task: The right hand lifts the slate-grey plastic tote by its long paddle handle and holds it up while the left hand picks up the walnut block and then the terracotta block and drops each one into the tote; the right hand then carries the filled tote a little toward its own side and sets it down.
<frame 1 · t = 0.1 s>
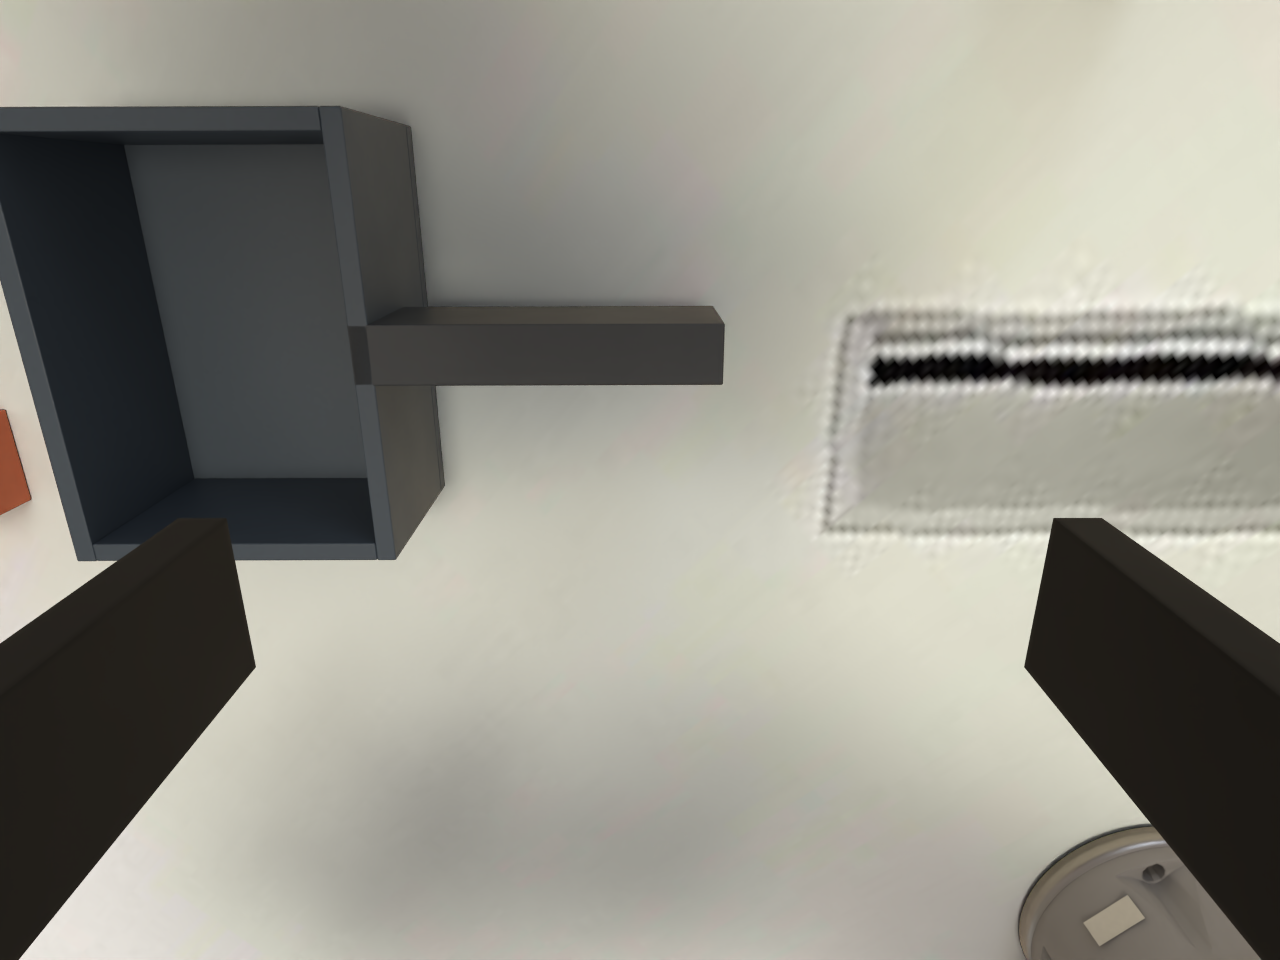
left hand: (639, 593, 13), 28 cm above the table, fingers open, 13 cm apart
tote: (292, 320, 39), on the table
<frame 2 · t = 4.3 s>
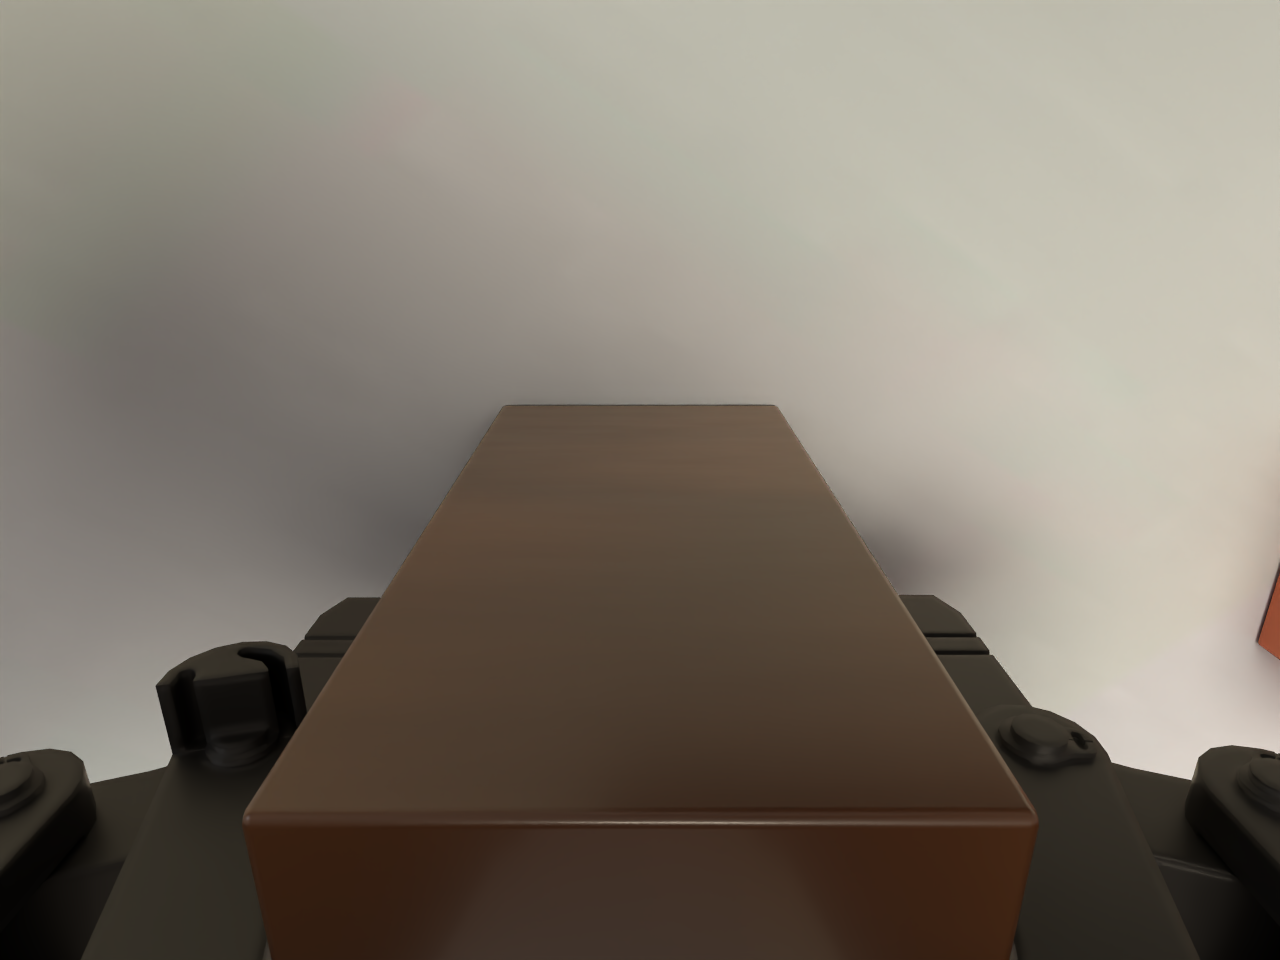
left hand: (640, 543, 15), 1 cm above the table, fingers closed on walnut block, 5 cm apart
walnut block: (640, 530, 15), on the table, touching left hand
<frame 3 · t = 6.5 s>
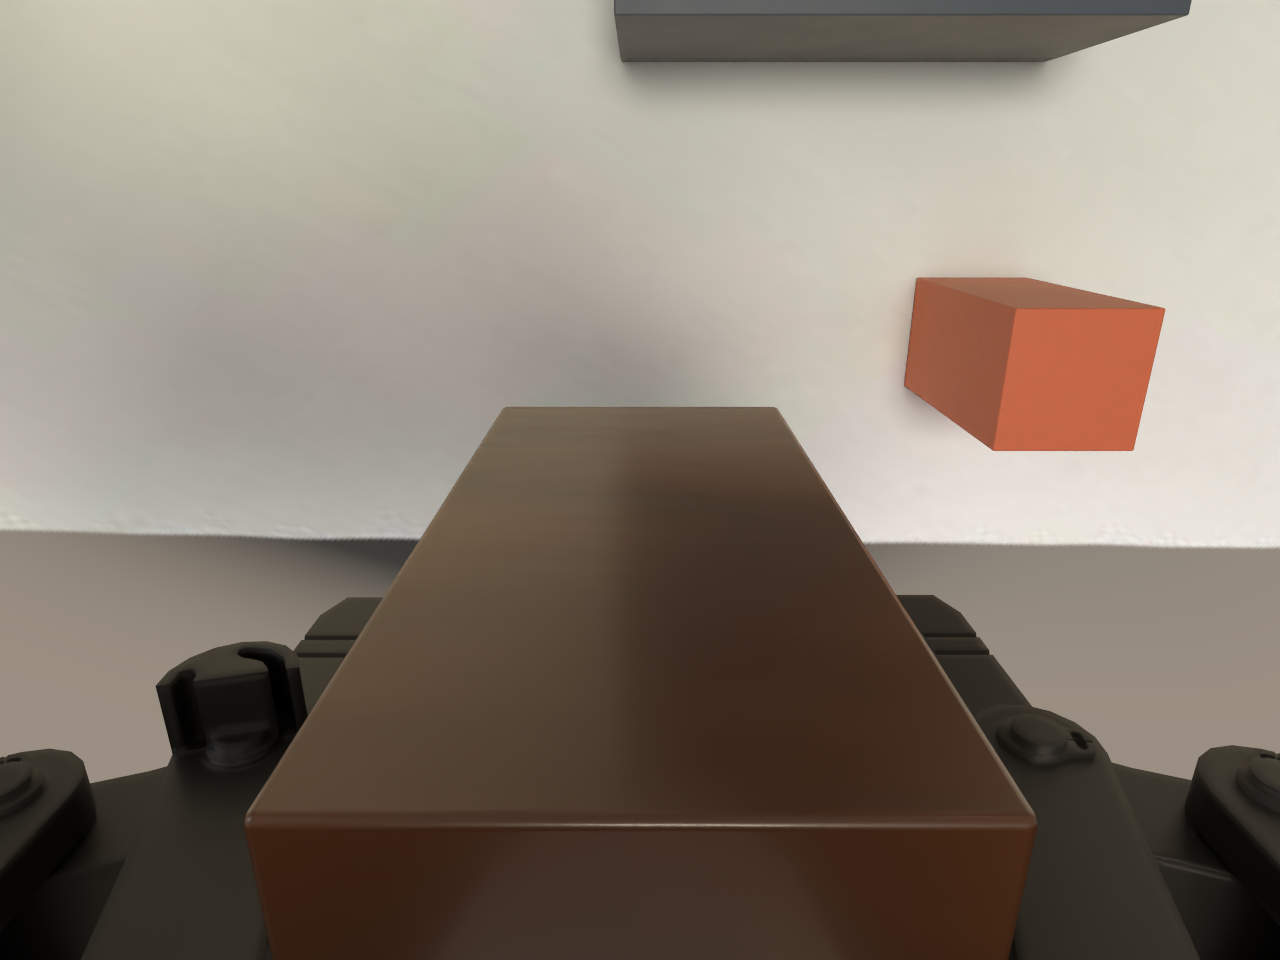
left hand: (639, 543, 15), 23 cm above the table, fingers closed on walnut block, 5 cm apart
terracotta block: (964, 333, 36), on the table
walnut block: (640, 532, 15), point 23 cm above the table, touching left hand
when the left hand's fingers open (23 cm above the table, at t = 10.8 s): walnut block drops 11 cm, resting on tote.
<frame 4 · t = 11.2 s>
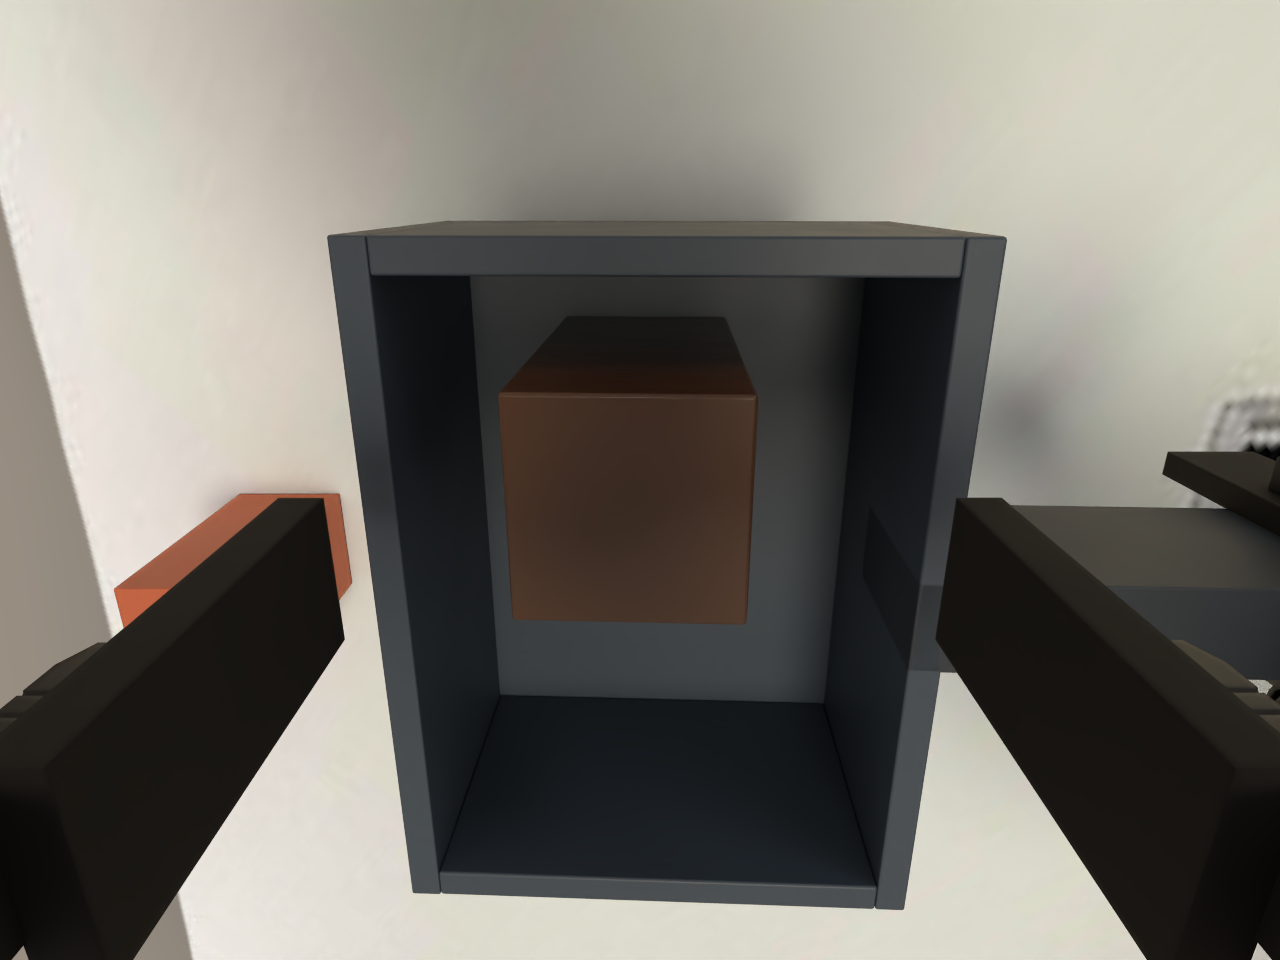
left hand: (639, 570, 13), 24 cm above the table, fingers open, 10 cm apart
tote: (663, 489, 27), point 11 cm above the table, touching right hand, walnut block
terracotta block: (297, 539, 40), on the table
walnut block: (645, 395, 25), point 12 cm above the table, touching tote
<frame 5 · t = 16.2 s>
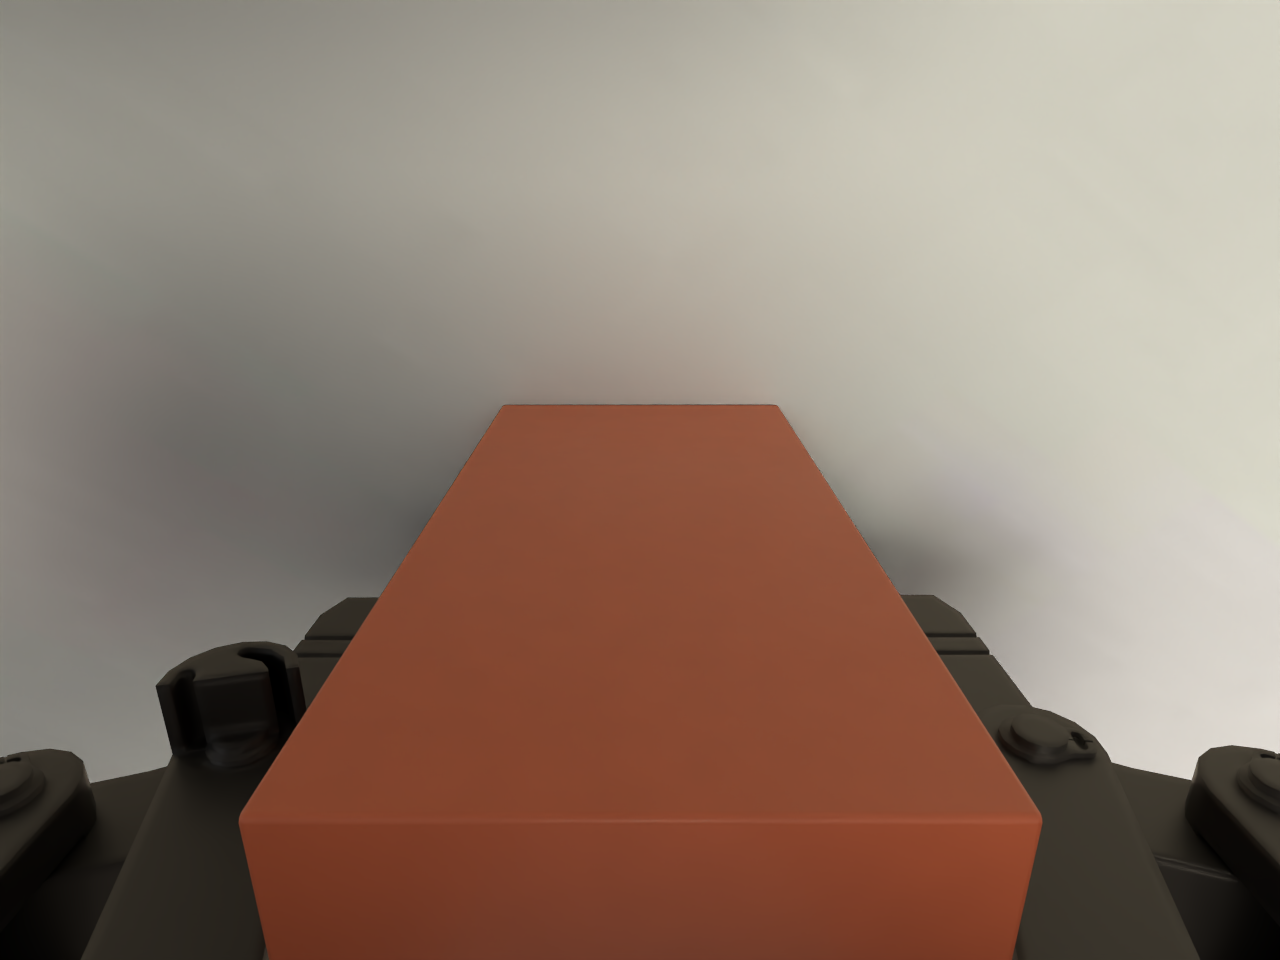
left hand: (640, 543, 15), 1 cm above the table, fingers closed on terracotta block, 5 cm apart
terracotta block: (640, 530, 15), on the table, touching left hand
when the left hand's fingers open (23 cm above the table, at t = 20.2 s): terracotta block drops 12 cm, resting on tote.
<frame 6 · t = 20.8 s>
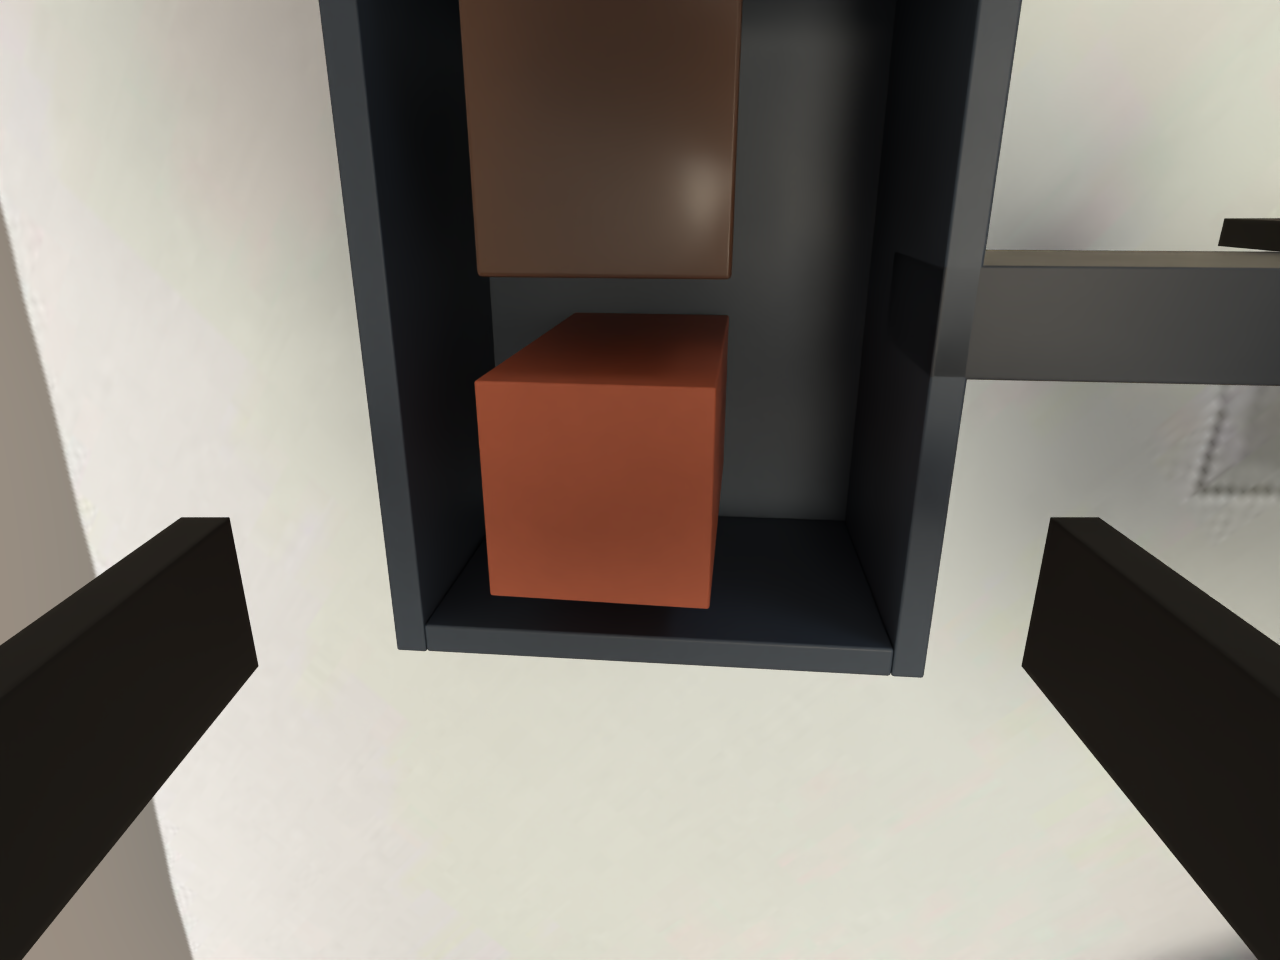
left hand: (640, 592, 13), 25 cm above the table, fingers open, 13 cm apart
tote: (676, 277, 26), point 10 cm above the table, tilted 5°, touching right hand, terracotta block, walnut block
terracotta block: (650, 389, 26), point 11 cm above the table, tilted 7°, touching tote
walnut block: (647, 160, 24), point 11 cm above the table, tilted 5°, touching tote
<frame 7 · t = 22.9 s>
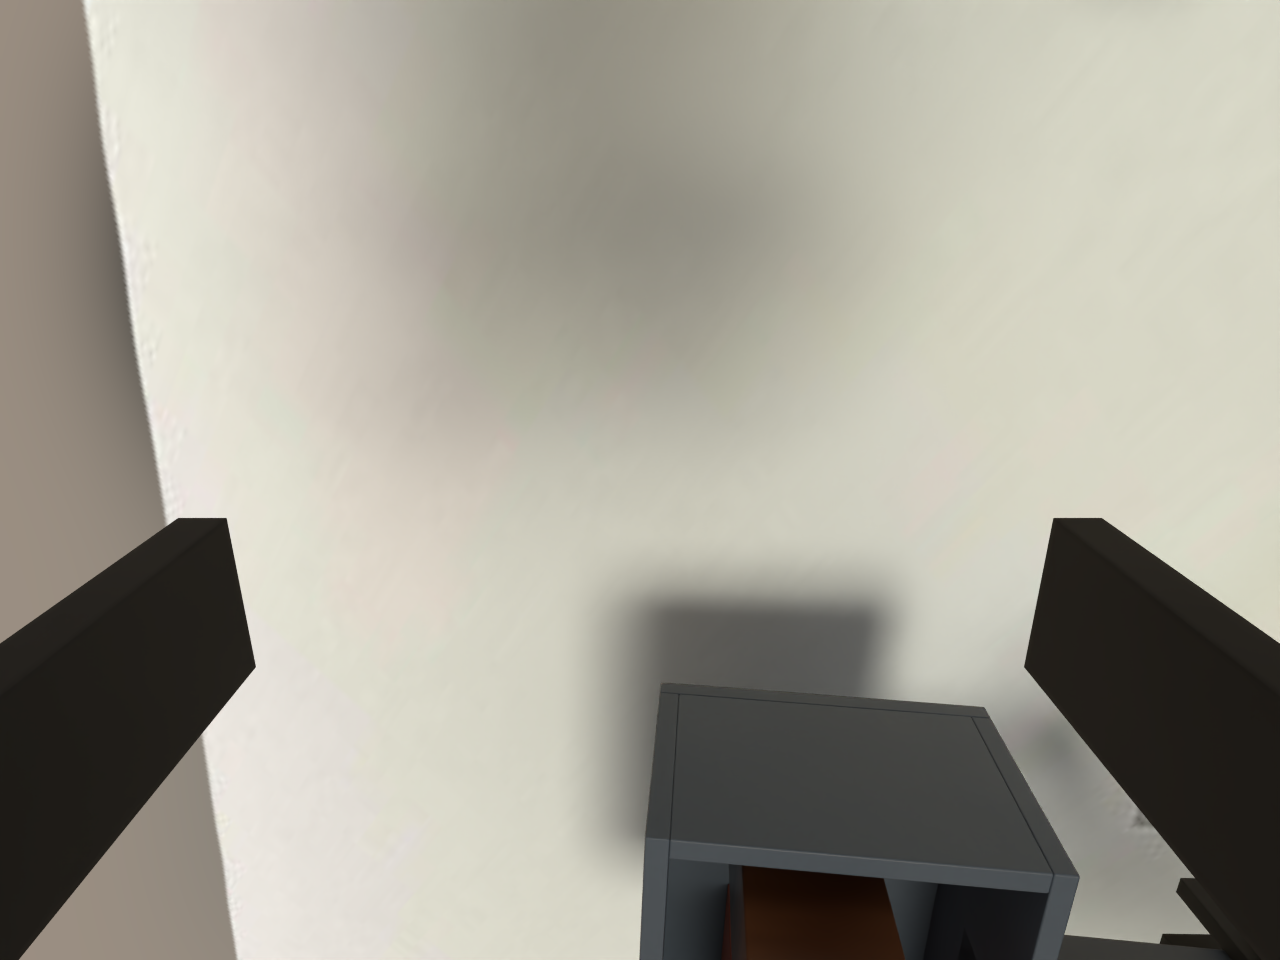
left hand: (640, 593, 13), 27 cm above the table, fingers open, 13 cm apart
tote: (799, 858, 36), point 10 cm above the table, tilted 6°, touching right hand, terracotta block, walnut block
terracotta block: (778, 930, 37), point 11 cm above the table, tilted 6°, touching tote
walnut block: (789, 806, 34), point 11 cm above the table, tilted 6°, touching tote
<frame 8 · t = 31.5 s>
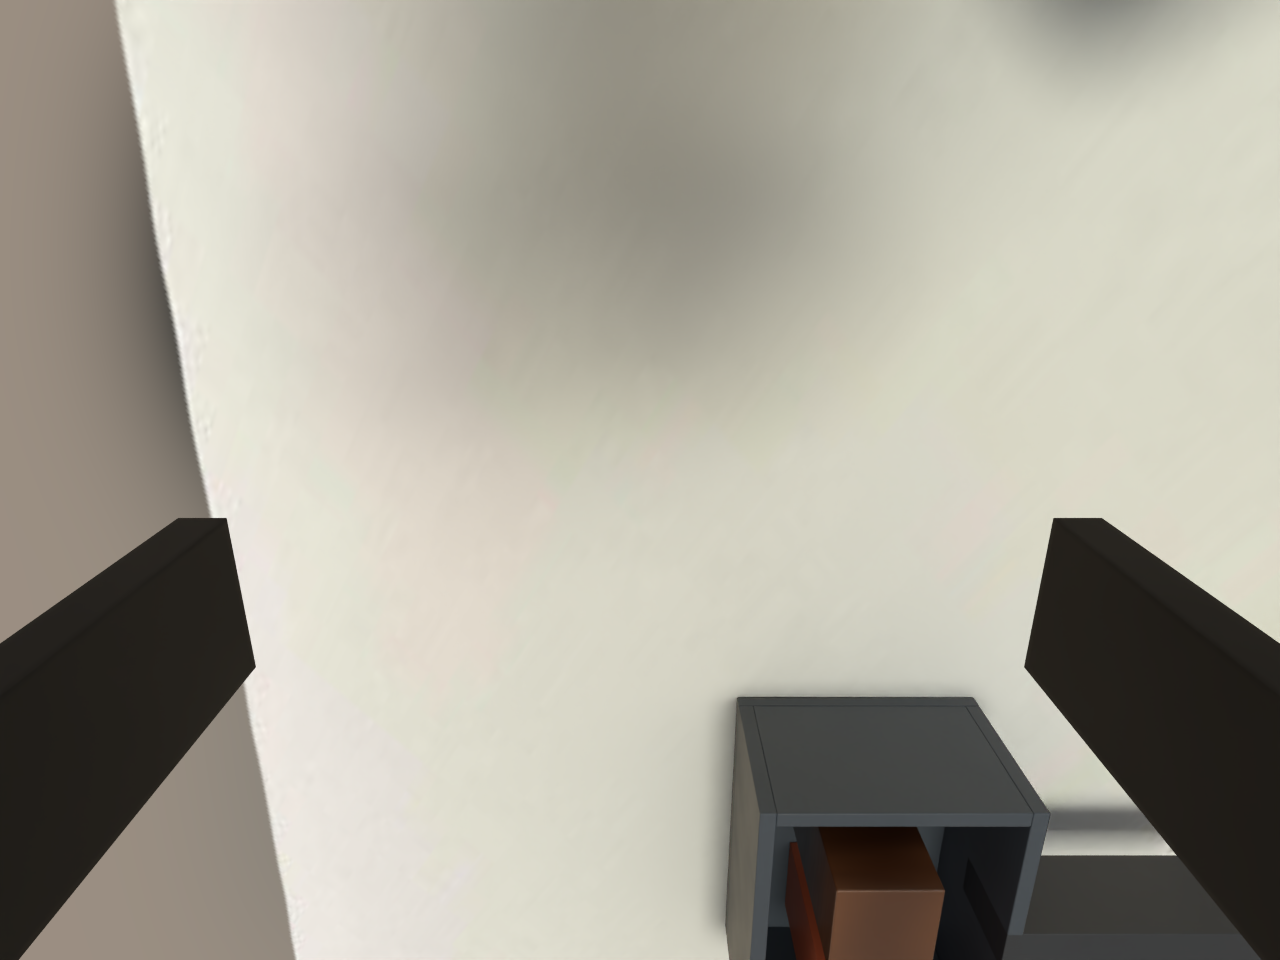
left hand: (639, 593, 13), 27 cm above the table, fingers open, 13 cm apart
tote: (841, 818, 48), on the table, touching terracotta block, walnut block
terracotta block: (827, 873, 49), point 1 cm above the table, touching tote
walnut block: (835, 781, 46), point 1 cm above the table, touching tote
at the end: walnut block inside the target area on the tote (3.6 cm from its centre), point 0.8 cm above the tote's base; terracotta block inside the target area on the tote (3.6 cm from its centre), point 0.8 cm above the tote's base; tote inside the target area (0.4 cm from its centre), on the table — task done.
